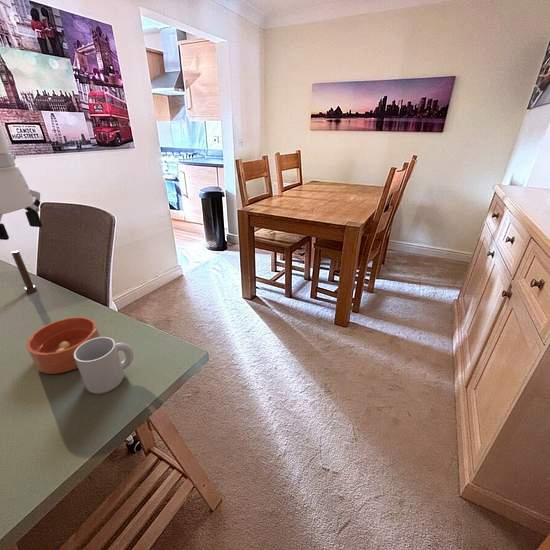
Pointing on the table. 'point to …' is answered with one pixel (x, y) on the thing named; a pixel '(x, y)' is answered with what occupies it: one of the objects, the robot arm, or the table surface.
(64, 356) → the bowl
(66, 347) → the bead
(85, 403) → the table surface
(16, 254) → the stick
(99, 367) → the cup
